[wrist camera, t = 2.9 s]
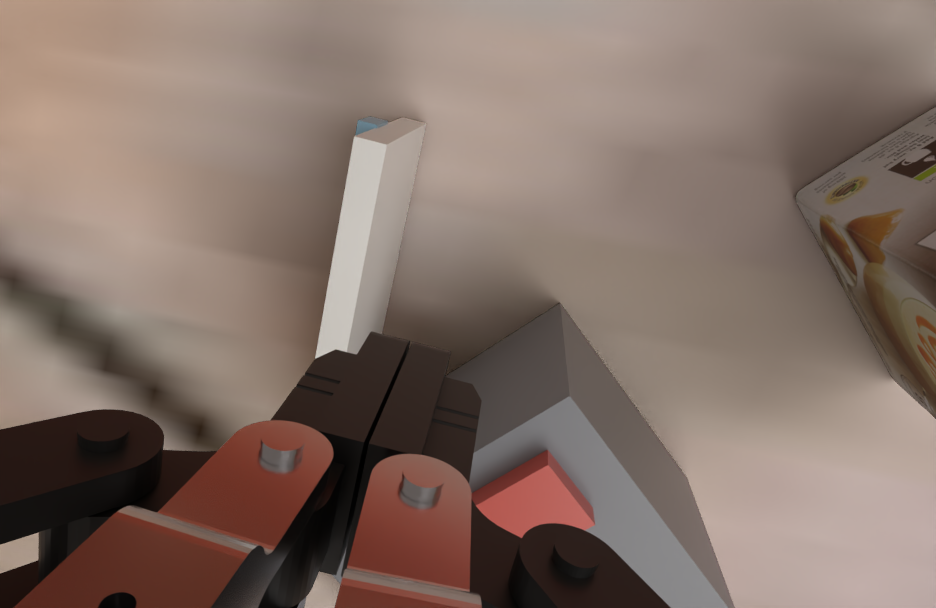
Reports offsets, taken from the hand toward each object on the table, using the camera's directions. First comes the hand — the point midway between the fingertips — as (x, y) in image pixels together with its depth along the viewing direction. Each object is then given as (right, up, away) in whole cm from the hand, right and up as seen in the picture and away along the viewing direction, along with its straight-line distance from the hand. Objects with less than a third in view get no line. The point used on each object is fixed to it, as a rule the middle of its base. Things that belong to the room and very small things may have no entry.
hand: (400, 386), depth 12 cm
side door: (-2, +2, +14) cm, 15 cm away
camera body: (+4, -5, +17) cm, 18 cm away
